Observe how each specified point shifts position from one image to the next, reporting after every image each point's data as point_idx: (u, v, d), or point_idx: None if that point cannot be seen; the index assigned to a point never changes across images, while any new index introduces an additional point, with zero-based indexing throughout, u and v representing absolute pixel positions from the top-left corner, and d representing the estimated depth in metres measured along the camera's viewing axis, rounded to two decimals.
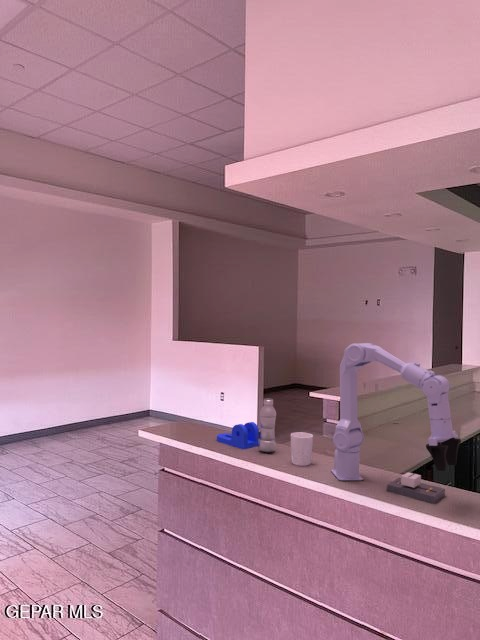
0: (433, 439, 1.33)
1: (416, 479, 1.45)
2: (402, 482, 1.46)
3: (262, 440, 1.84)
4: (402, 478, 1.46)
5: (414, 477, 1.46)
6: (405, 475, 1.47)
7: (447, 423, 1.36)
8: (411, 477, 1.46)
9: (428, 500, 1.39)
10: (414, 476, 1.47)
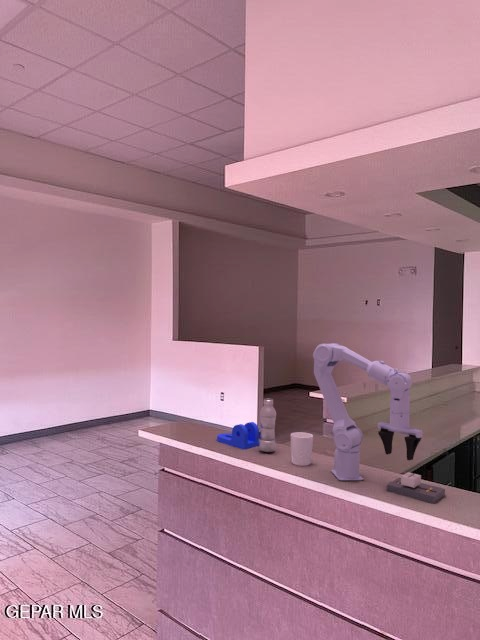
0: (421, 431, 1.44)
1: (416, 479, 1.45)
2: (402, 482, 1.46)
3: (262, 440, 1.84)
4: (402, 478, 1.46)
5: (414, 477, 1.46)
6: (405, 475, 1.47)
7: None
8: (411, 477, 1.46)
9: (428, 500, 1.39)
10: (414, 476, 1.47)
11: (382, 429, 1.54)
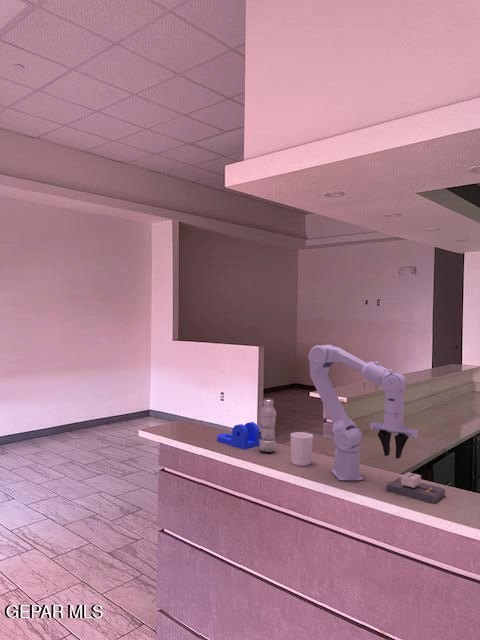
0: (417, 431, 1.47)
1: (416, 479, 1.45)
2: (402, 482, 1.46)
3: (262, 440, 1.84)
4: (402, 478, 1.46)
5: (414, 477, 1.46)
6: (405, 475, 1.47)
7: None
8: (411, 477, 1.46)
9: (428, 500, 1.39)
10: (414, 476, 1.47)
11: (375, 429, 1.54)
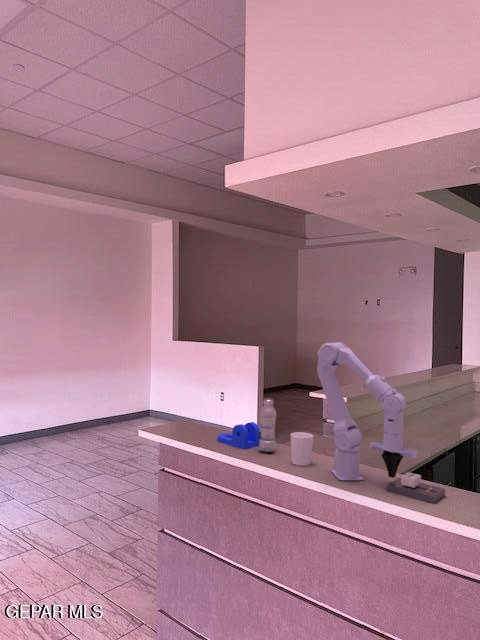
0: (416, 452, 1.47)
1: (416, 479, 1.45)
2: (402, 482, 1.46)
3: (262, 440, 1.84)
4: (402, 478, 1.46)
5: (414, 477, 1.46)
6: (405, 475, 1.47)
7: None
8: (411, 477, 1.46)
9: (428, 500, 1.39)
10: (414, 476, 1.47)
11: None
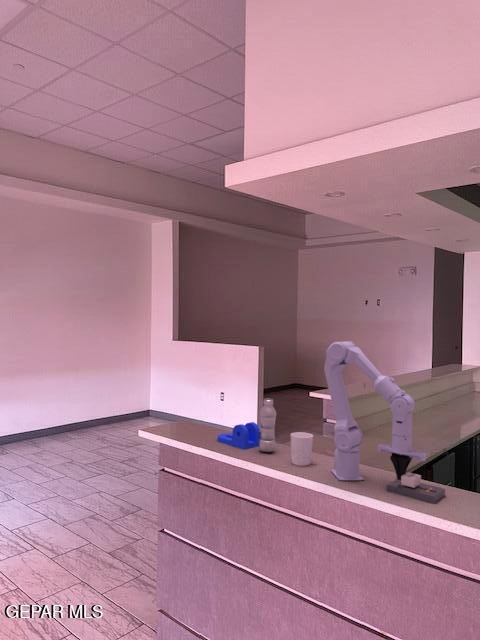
0: (425, 454, 1.45)
1: (416, 479, 1.45)
2: (402, 482, 1.46)
3: (262, 440, 1.84)
4: (402, 478, 1.46)
5: (414, 477, 1.46)
6: (405, 475, 1.47)
7: None
8: (411, 477, 1.46)
9: (428, 500, 1.39)
10: (414, 476, 1.47)
11: (382, 451, 1.52)
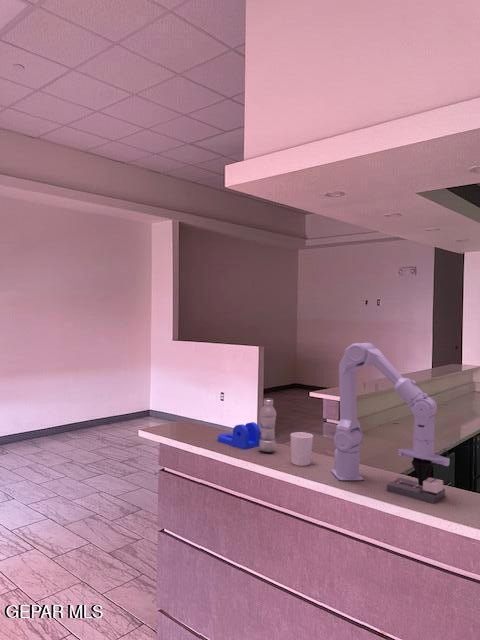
0: (448, 459, 1.41)
1: (439, 485, 1.41)
2: (424, 488, 1.42)
3: (262, 440, 1.84)
4: (424, 483, 1.42)
5: (436, 482, 1.41)
6: (427, 480, 1.43)
7: None
8: (433, 482, 1.41)
9: (428, 500, 1.39)
10: (436, 481, 1.42)
11: None
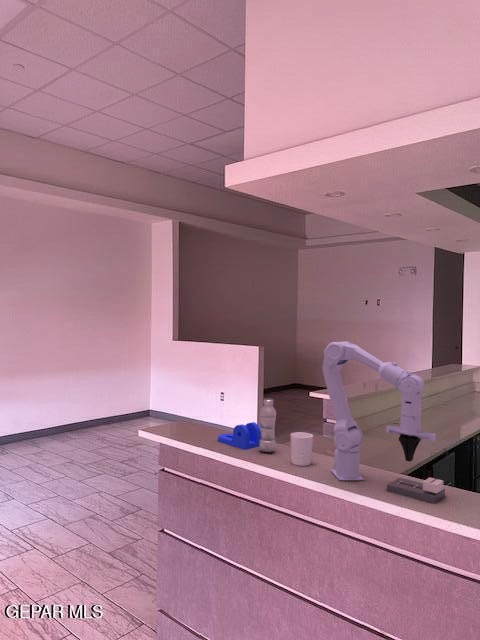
0: (434, 435, 1.43)
1: (439, 485, 1.41)
2: (424, 488, 1.42)
3: (262, 440, 1.84)
4: (424, 483, 1.42)
5: (436, 482, 1.41)
6: (427, 480, 1.43)
7: None
8: (433, 482, 1.41)
9: (428, 500, 1.39)
10: (436, 481, 1.42)
11: None
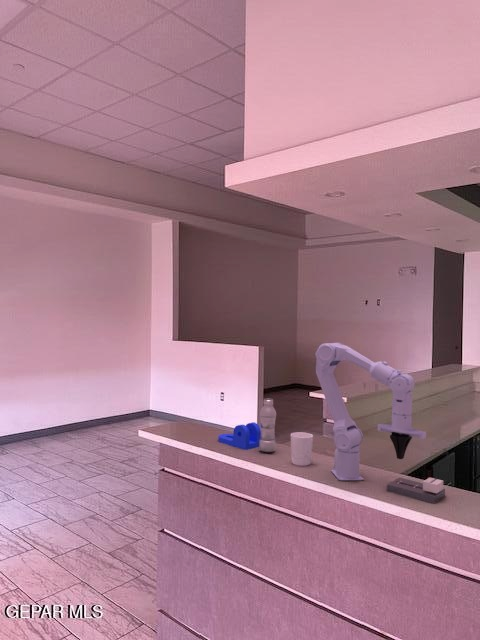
0: (425, 433, 1.45)
1: (439, 485, 1.41)
2: (424, 488, 1.42)
3: (262, 440, 1.84)
4: (424, 483, 1.42)
5: (436, 482, 1.41)
6: (427, 480, 1.43)
7: None
8: (433, 482, 1.41)
9: (428, 500, 1.39)
10: (436, 481, 1.42)
11: None
